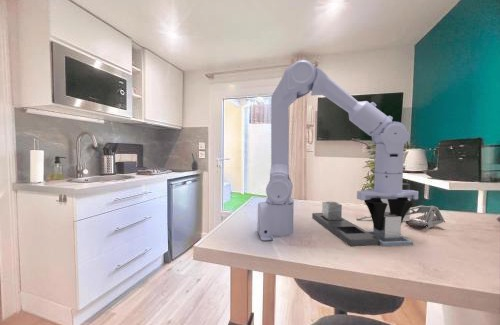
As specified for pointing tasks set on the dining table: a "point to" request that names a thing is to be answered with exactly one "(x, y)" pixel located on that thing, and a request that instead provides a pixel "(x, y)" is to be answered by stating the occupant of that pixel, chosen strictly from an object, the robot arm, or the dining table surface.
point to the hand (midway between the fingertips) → (386, 228)
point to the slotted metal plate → (347, 231)
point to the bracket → (429, 217)
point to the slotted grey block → (331, 211)
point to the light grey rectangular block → (389, 228)
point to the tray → (395, 242)
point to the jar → (407, 187)
